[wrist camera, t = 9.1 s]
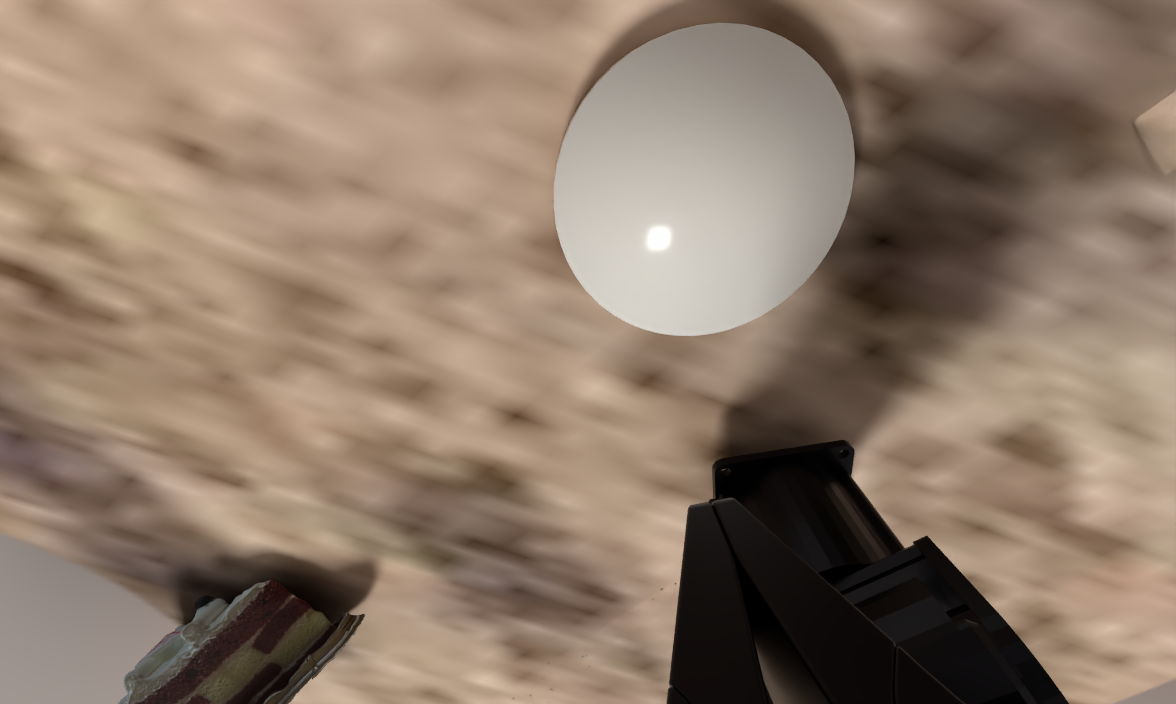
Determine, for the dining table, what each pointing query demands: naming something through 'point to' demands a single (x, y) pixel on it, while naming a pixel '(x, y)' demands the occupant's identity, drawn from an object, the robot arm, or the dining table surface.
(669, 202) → the white round plate
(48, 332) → the dining table surface
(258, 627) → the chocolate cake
